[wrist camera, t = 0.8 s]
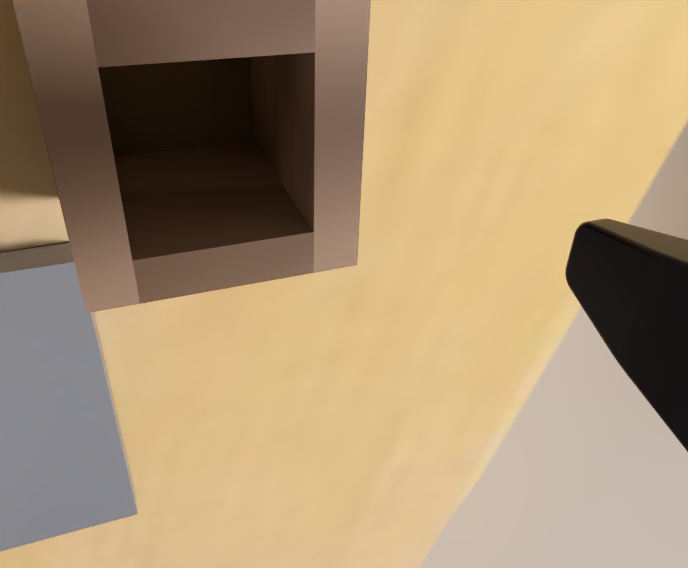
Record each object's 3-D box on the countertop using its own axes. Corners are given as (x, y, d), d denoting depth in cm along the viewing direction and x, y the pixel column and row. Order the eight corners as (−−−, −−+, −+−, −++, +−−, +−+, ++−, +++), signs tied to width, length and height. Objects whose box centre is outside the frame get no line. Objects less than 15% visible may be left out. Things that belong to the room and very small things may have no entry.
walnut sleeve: (290, 171, 18) (357, 265, 14) (75, 198, 16) (86, 313, 13) (287, -54, 15) (371, -12, 11) (21, -50, 13) (12, 2, 9)
